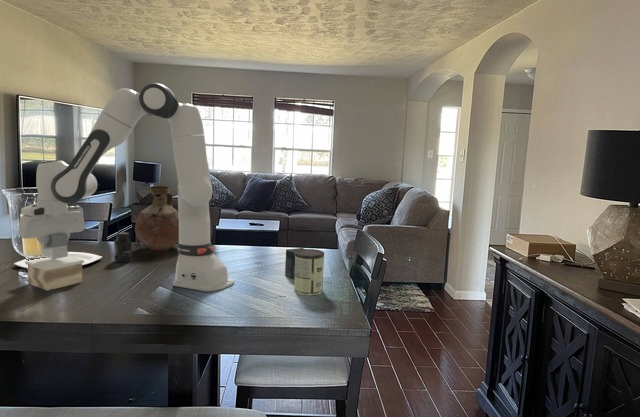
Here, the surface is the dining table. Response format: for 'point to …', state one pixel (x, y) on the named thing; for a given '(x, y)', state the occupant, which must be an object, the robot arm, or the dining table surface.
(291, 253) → the box
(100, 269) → the dining table surface
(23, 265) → the plate
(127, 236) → the supplement bottle
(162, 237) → the jug
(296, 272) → the coffee can
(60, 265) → the stand
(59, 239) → the block
